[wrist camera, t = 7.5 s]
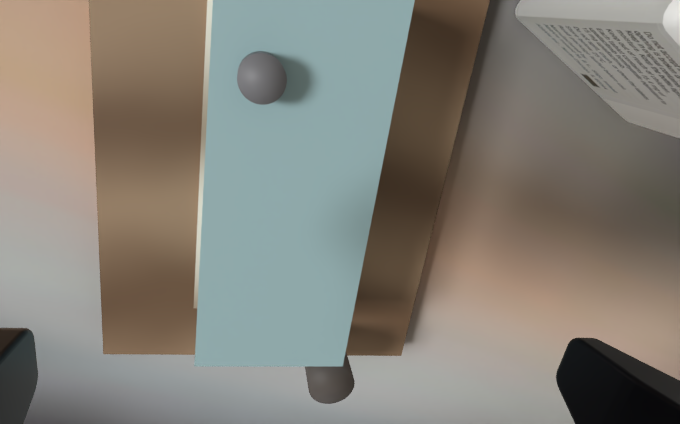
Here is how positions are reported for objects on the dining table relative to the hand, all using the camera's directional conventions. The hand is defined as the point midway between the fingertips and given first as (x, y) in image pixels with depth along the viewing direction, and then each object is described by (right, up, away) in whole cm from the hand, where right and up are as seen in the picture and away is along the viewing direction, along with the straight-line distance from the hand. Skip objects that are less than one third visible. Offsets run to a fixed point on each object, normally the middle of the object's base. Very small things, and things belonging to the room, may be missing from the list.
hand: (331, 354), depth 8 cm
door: (-2, +4, +10) cm, 11 cm away
